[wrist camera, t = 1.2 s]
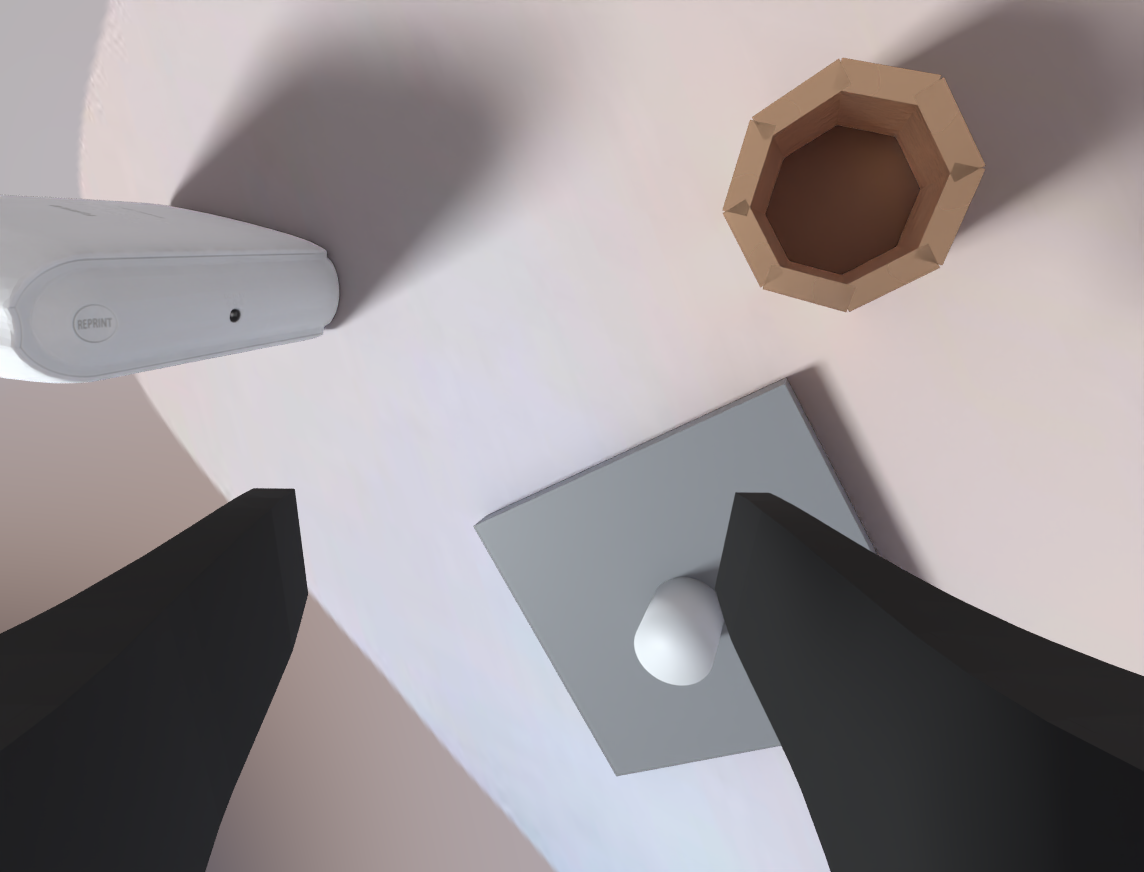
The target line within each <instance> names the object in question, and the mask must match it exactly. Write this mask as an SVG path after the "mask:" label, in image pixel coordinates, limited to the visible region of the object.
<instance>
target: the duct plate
mask: <svg viewBox="0 0 1144 872" xmlns="http://www.w3.org/2000/svg"><path fill="white" fill-rule="evenodd" d="M735 492H750V493H771V494H773V495H775V496H777V497H780V498H782V499H783V500H785V501H787V502H789V503H791V504H793V505H794V506H796V507H798V508H800V509H801V510H803V511H805V512H807V513H808V514H810V515H812V516H813V517H815V518H817V519H818V520H820V521H822V522H823V523H825V524H826V525H828V526H830V527H831V528H833V529H835V530H836V531H838V532H840V533H841V534H843V535H845V536H846V537H848V538H850V539H851V540H853V541H855V542H856V543H858V544H860V545H861V546H863V547H865V548H866V549H868V550H870V551H871V552H873V553H875V554H877V553H876V551H875V549H874V547H873V545H872V543H871V541H870V539H869V537H868V535H867V533H866V531H865V530H864V528H863V526H862V524H861V522H860V520H859V518H858V516H857V514H856V512H855V510H854V508H853V506H852V504H851V502H850V500H849V498H848V496H847V494H846V493H845V491H844V489H843V487H842V485H841V483H840V481H839V479H838V477H837V475H836V473H835V471H834V469H833V467H832V465H831V463H830V461H829V459H828V457H827V456H826V454H825V452H824V450H823V448H822V446H821V444H820V442H819V440H818V438H817V436H816V434H815V432H814V430H813V428H812V426H811V424H810V422H809V420H808V419H807V417H806V415H805V413H804V411H803V409H802V407H801V405H800V403H799V401H798V399H797V397H796V395H795V393H794V391H793V389H792V387H791V385H790V383H789V382H788V380H787V378H784V379H782V380H780V381H778V382H776V383H773V384H771V385H769V386H767V387H765V388H763V389H760V390H758V391H756V392H754V393H752V394H750V395H747V396H745V397H743V398H741V399H739V400H737V401H734V402H732V403H730V404H728V405H726V406H724V407H721V408H719V409H717V410H715V411H713V412H711V413H708V414H706V415H704V416H702V417H700V418H698V419H695V420H693V421H691V422H689V423H687V424H685V425H682V426H680V427H678V428H676V429H674V430H672V431H669V432H667V433H665V434H663V435H661V436H659V437H656V438H654V439H652V440H650V441H648V442H646V443H643V444H641V445H639V446H637V447H635V448H633V449H630V450H628V451H626V452H624V453H622V454H620V455H617V456H615V457H613V458H611V459H609V460H607V461H604V462H602V463H600V464H598V465H596V466H594V467H591V468H589V469H587V470H585V471H583V472H581V473H578V474H576V475H574V476H572V477H570V478H568V479H565V480H563V481H561V482H559V483H557V484H555V485H552V486H550V487H548V488H546V489H544V490H542V491H539V492H537V493H535V494H533V495H531V496H529V497H526V498H524V499H522V500H520V501H518V502H516V503H514V504H511V505H509V506H507V507H505V508H503V509H501V510H498V511H496V512H494V513H492V514H490V515H488V516H485V517H484V518H483V519H482V520H481V521H479V522H478V523H477V524H476V525H474V526H473V527H474V528H475V530H476V532H477V534H478V535H479V537H480V539H481V541H482V542H483V544H484V546H485V548H486V549H487V551H488V553H489V555H490V556H491V558H492V560H493V562H494V563H495V565H496V567H497V569H498V570H499V572H500V574H501V576H502V577H503V579H504V581H505V583H506V584H507V586H508V588H509V590H510V591H511V593H512V595H513V597H514V598H515V600H516V602H517V604H518V605H519V607H520V609H521V611H522V612H523V614H524V616H525V618H526V619H527V621H528V623H529V625H530V626H531V628H532V630H533V632H534V633H535V635H536V637H537V638H538V640H539V642H540V644H541V645H542V647H543V649H544V651H545V652H546V654H547V656H548V658H549V659H550V661H551V663H552V665H553V666H554V668H555V670H556V672H557V673H558V675H559V677H560V679H561V680H562V682H563V684H564V686H565V687H566V689H567V691H568V693H569V694H570V696H571V698H572V700H573V701H574V703H575V705H576V707H577V708H578V710H579V712H580V714H581V715H582V717H583V719H584V721H585V722H586V724H587V726H588V728H589V729H590V731H591V733H592V735H593V736H594V738H595V740H596V741H597V743H598V745H599V747H600V748H601V750H602V752H603V754H604V755H605V757H606V759H607V761H608V762H609V764H610V766H611V768H612V769H613V771H614V773H615V775H616V776H621V775H626V774H631V773H637V772H642V771H648V770H653V769H658V768H664V767H669V766H674V765H680V764H685V763H691V762H696V761H701V760H707V759H712V758H717V757H723V756H728V755H734V754H739V753H744V752H750V751H755V750H760V749H766V748H771V747H776V746H781V744H780V742H779V740H778V738H777V736H776V734H775V731H774V729H773V727H772V725H771V723H770V721H769V719H768V717H767V715H766V713H765V711H764V709H763V707H762V705H761V703H760V700H759V698H758V696H757V694H756V692H755V690H754V688H753V686H752V684H751V682H750V680H749V678H748V676H747V673H746V671H745V669H744V667H743V665H742V663H741V661H740V659H739V656H738V654H737V652H736V650H735V648H734V646H733V643H732V641H731V639H730V636H729V633H728V630H727V627H726V624H725V621H724V618H723V615H722V611H721V608H720V605H719V601H718V598H717V595H716V591H715V584H716V580H717V575H718V570H719V566H720V561H721V556H722V552H723V547H724V542H725V538H726V533H727V529H728V524H729V519H730V515H731V510H732V505H733V501H734V496H735Z"/></svg>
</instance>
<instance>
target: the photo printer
mask: <svg viewBox="0 0 1144 872" xmlns="http://www.w3.org/2000/svg"><path fill="white" fill-rule="evenodd" d="M338 303H339V283H338V277H337V273H336V270H335V267H334V265H333V263H332V262H331V260H329V259H328V258H327V251H326V250H325V249H323V248H322V247H320V246H318V245H316V244H314V243H312V242H310V241H307V240H305V239H302V238H299V237H296V236H293V235H290V234H286V233H283V232H279V231H276V230H273V229H269V228H265V227H261V226H258V225H254V224H250V223H246V222H243V221H238V220H234V219H230V218H226V217H221V216H217V215H213V214H208V213H203V212H199V211H194V210H189V209H183V208H178V207H173V206H167V205H161V204H150V203H137V202H122V201H106V200H89V199H72V198H52V197H34V196H14V195H0V377H3V378H8V379H17V380H26V381H35V382H48V383H82V382H93V381H99V380H104V379H110V378H114V377H119V376H124V375H130V374H134V373H139V372H145V371H150V370H155V369H160V368H165V367H170V366H176V365H180V364H185V363H190V362H195V361H200V360H205V359H210V358H216V357H221V356H226V355H231V354H236V353H242V352H247V351H252V350H257V349H262V348H267V347H272V346H278V345H283V344H288V343H294V342H299V341H305V340H309V339H313V338H316V337H319V336H321V335H323V331H324V326H326V325H328V324H329V323H330V322H331V321H332V319H333V317H334V315H335V313H336V311H337V307H338Z"/></svg>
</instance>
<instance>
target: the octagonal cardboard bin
mask: <svg viewBox="0 0 1144 872" xmlns="http://www.w3.org/2000/svg"><path fill="white" fill-rule="evenodd" d="M940 78H941V75H938V74H932V73H926V72H921V71H915V70H909V69H904V68H898V67H892V66H887V65H881V64H875V63H870V62H864V61H858V60H852V59H847V58H842V60H841V62H840V60H839V59H838V60H836V61H835V62H833V63H832V64H830V65H829V66H827V67H826V68H824V69H823V70H821V71H820V72H818V73H817V74H815V75H814V76H812V77H811V78H809V79H808V80H806V81H805V82H803V83H802V84H801V85H799V86H798V87H796V88H795V89H793V90H792V91H790V92H789V93H787V94H786V95H784V96H783V97H781V98H780V99H778V100H777V101H775V102H774V103H772V104H771V105H769V106H768V107H766V108H765V109H763V110H762V111H760V112H759V113H758V114H756V115H755V116H753V117H752V118H753V120H754V121H753V120H750V122H749V125H748V128H747V132H746V135H745V138H744V141H743V145H742V148H741V151H740V154H739V158H738V161H737V164H736V168H735V171H734V174H733V177H732V181H731V184H730V187H729V190H728V194H727V197H726V200H725V203H724V207H723V211H725V212H724V213H723V215H724V217H725V219H726V221H727V223H728V225H729V227H730V229H731V230H732V232H733V234H734V236H735V238H736V240H737V242H738V244H739V246H740V248H741V250H742V252H743V254H744V256H745V258H746V260H747V262H748V264H749V266H750V268H751V270H752V272H753V274H754V276H755V277H756V279H757V281H758V283H759V285H760V287H762V286H763V289H765V290H768V291H772V292H775V293H779V294H783V295H786V296H790V297H793V298H797V299H800V300H804V301H808V302H811V303H815V304H818V305H822V306H826V307H829V308H833V309H836V310H840V311H844V312H847V309H848V310H849V312H850V311H852V310H854V309H856V308H858V307H860V306H862V305H865V304H867V303H869V302H871V301H873V300H875V299H877V298H879V297H881V296H883V295H885V294H887V293H889V292H891V291H893V290H895V289H897V288H899V287H901V286H903V285H906V284H908V283H910V282H912V281H914V280H916V279H918V278H920V277H922V276H924V275H926V274H928V273H930V272H932V271H934V270H936V269H938V268H940V267H939V265H943V263H944V261H945V258H946V256H947V254H948V252H949V249H950V247H951V245H952V243H953V241H954V238H955V236H956V234H957V232H958V229H959V227H960V225H961V223H962V220H963V218H964V216H965V214H966V211H967V209H968V207H969V205H970V203H971V200H972V198H973V196H974V194H975V191H976V189H977V187H978V185H979V182H980V180H981V178H982V176H983V174H984V171H985V169H983V168H982V167H984V166H986V165H985V163H984V161H983V159H982V157H981V155H980V153H979V151H978V148H977V146H976V144H975V142H974V140H973V138H972V136H971V133H970V131H969V129H968V127H967V125H966V123H965V121H964V119H963V116H962V114H961V112H960V110H959V108H958V106H957V104H956V102H955V99H954V97H953V95H952V93H951V91H950V89H949V87H948V84H947V82H946V80H945V78H944V77H943V78H942V79H940ZM836 125H840V126H845V127H850V128H855V129H860V130H865V131H869V132H874V133H879V134H884V135H889V136H894V137H896V139H897V141H898V143H899V145H900V147H901V149H902V151H903V154H904V156H905V158H906V160H907V162H908V164H909V166H910V168H911V170H912V172H913V174H914V176H915V179H916V181H917V183H918V185H919V187H920V191H919V193H918V196H917V198H916V201H915V203H914V206H913V208H912V210H911V213H910V215H909V218H908V220H907V222H906V225H905V227H904V230H903V232H902V234H901V237H900V239H899V242H898V244H897V246H896V247H895V248H893V249H891V250H889V251H887V252H885V253H883V254H881V255H879V256H877V257H875V258H873V259H871V260H869V261H868V262H866V263H864V264H862V265H860V266H858V267H856V268H854V269H852V270H850V271H848V272H846V273H844V274H842V275H840V274H836V273H833V272H829V271H825V270H821V269H817V268H814V267H810V266H806V265H802V264H798V263H795V262H791V261H789V260H788V258H787V256H786V254H785V252H784V250H783V248H782V246H781V244H780V242H779V240H778V238H777V236H776V234H775V232H774V231H773V229H772V227H771V225H770V223H769V221H768V219H767V217H766V215H765V213H766V210H767V207H768V204H769V201H770V198H771V195H772V192H773V189H774V186H775V183H776V180H777V177H778V174H779V171H780V168H781V165H782V162H783V159H784V158H785V157H787V156H788V155H790V154H792V153H793V152H795V151H796V150H798V149H800V148H801V147H803V146H804V145H806V144H808V143H809V142H811V141H812V140H814V139H816V138H817V137H819V136H820V135H822V134H823V133H825V132H827V131H828V130H830V129H831V128H833V127H835V126H836ZM938 264H939V265H938Z"/></svg>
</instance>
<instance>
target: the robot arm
mask: <svg viewBox="0 0 1144 872" xmlns="http://www.w3.org/2000/svg"><path fill="white" fill-rule="evenodd" d="M715 591H716V595H717V598H718V601H719V605H720V608H721V611H722V615H723V618H724V621H725V624H726V627H727V630H728V633H729V636H730V639H731V641H732V643H733V646H734V648H735V650H736V652H737V654H738V656H739V659H740V661H741V663H742V665H743V667H744V669H745V671H746V673H747V676H748V678H749V680H750V682H751V684H752V686H753V688H754V690H755V692H756V694H757V696H758V698H759V700H760V703H761V705H762V707H763V709H764V711H765V713H766V715H767V717H768V719H769V721H770V723H771V725H772V727H773V729H774V731H775V734H776V736H777V738H778V740H779V742H780V744H781V746H782V748H783V750H784V752H785V754H786V756H787V758H788V760H789V763H790V765H791V767H792V770H793V772H794V774H795V777H796V779H797V781H798V784H799V786H800V788H801V791H802V793H803V796H804V799H805V801H806V804H807V807H808V810H809V812H810V815H811V818H812V821H813V823H814V826H815V829H816V832H817V834H818V837H819V840H820V842H821V845H822V848H823V851H824V853H825V856H826V859H827V862H828V865H829V868H830V871H831V872H1144V676H1142V675H1139V674H1136V673H1133V672H1130V671H1128V670H1125V669H1122V668H1119V667H1116V666H1114V665H1111V664H1108V663H1106V662H1103V661H1101V660H1098V659H1096V658H1093V657H1091V656H1088V655H1085V654H1083V653H1080V652H1078V651H1075V650H1073V649H1070V648H1068V647H1065V646H1063V645H1060V644H1057V643H1055V642H1052V641H1050V640H1048V639H1045V638H1043V637H1040V636H1038V635H1036V634H1033V633H1031V632H1029V631H1026V630H1024V629H1022V628H1019V627H1017V626H1015V625H1013V624H1011V623H1008V622H1006V621H1004V620H1002V619H1000V618H998V617H995V616H993V615H991V614H989V613H987V612H985V611H983V610H980V609H978V608H976V607H974V606H972V605H970V604H968V603H965V602H963V601H961V600H959V599H957V598H955V597H953V596H951V595H949V594H948V593H946V592H944V591H942V590H940V589H938V588H936V587H934V586H932V585H931V584H929V583H927V582H925V581H923V580H921V579H919V578H918V577H916V576H914V575H912V574H910V573H908V572H906V571H905V570H903V569H901V568H899V567H897V566H896V565H894V564H892V563H890V562H889V561H887V560H885V559H883V558H882V557H880V556H878V555H877V554H875V553H873V552H871V551H870V550H868V549H866V548H865V547H863V546H861V545H860V544H858V543H856V542H855V541H853V540H851V539H850V538H848V537H846V536H845V535H843V534H841V533H840V532H838V531H836V530H835V529H833V528H831V527H830V526H828V525H826V524H825V523H823V522H822V521H820V520H818V519H817V518H815V517H813V516H812V515H810V514H808V513H807V512H805V511H803V510H801V509H800V508H798V507H796V506H794V505H793V504H791V503H789V502H787V501H785V500H783V499H782V498H780V497H777V496H775V495H773V494H771V493H750V492H735V496H734V501H733V505H732V510H731V515H730V519H729V524H728V529H727V533H726V538H725V542H724V547H723V552H722V556H721V561H720V566H719V570H718V575H717V580H716V584H715ZM307 596H308V589H307V581H306V574H305V566H304V558H303V550H302V542H301V535H300V527H299V519H298V511H297V503H296V496H295V489H264V488H253V489H251V490H249V491H248V492H246V493H244V494H242V495H240V496H238V497H237V498H235V499H233V500H232V501H230V502H228V503H227V504H225V505H224V506H222V507H221V508H219V509H217V510H216V511H214V512H213V513H211V514H209V515H208V516H206V517H205V518H203V519H202V520H200V521H198V522H197V523H195V524H194V525H192V526H191V527H189V528H187V529H186V530H184V531H183V532H181V533H180V534H178V535H176V536H175V537H173V538H171V539H170V540H168V541H167V542H165V543H163V544H162V545H161V546H159V547H157V548H156V549H154V550H152V551H151V552H149V553H147V554H146V555H145V556H143V557H141V558H139V559H137V560H136V561H134V562H132V563H130V564H129V565H127V566H126V567H124V568H122V569H120V570H118V571H117V572H115V573H113V574H111V575H110V576H108V577H106V578H104V579H103V580H101V581H99V582H98V583H96V584H94V585H92V586H91V587H89V588H88V589H85V590H84V591H82V592H80V593H78V594H77V595H75V596H73V597H71V598H70V599H68V600H66V601H64V602H62V603H60V604H58V605H57V606H55V607H53V608H51V609H49V610H47V611H45V612H43V613H41V614H39V615H37V616H35V617H34V618H32V619H30V620H28V621H26V622H24V623H21V624H19V625H17V626H15V627H13V628H11V629H9V630H7V631H5V632H3V633H1V634H0V872H205V870H206V867H207V864H208V861H209V857H210V855H211V851H212V848H213V845H214V842H215V839H216V836H217V833H218V830H219V826H220V824H221V821H222V818H223V815H224V813H225V810H226V808H227V805H228V803H229V800H230V797H231V795H232V792H233V790H234V787H235V785H236V783H237V780H238V778H239V776H240V773H241V771H242V769H243V766H244V764H245V762H246V759H247V757H248V755H249V752H250V750H251V748H252V745H253V743H254V741H255V738H256V736H257V734H258V731H259V729H260V727H261V724H262V722H263V720H264V717H265V715H266V713H267V710H268V708H269V706H270V704H271V701H272V699H273V696H274V694H275V692H276V689H277V687H278V685H279V682H280V680H281V678H282V675H283V673H284V670H285V668H286V666H287V663H288V661H289V658H290V656H291V653H292V651H293V647H294V644H295V640H296V637H297V633H298V630H299V626H300V622H301V619H302V615H303V611H304V608H305V604H306V600H307Z"/></svg>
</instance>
